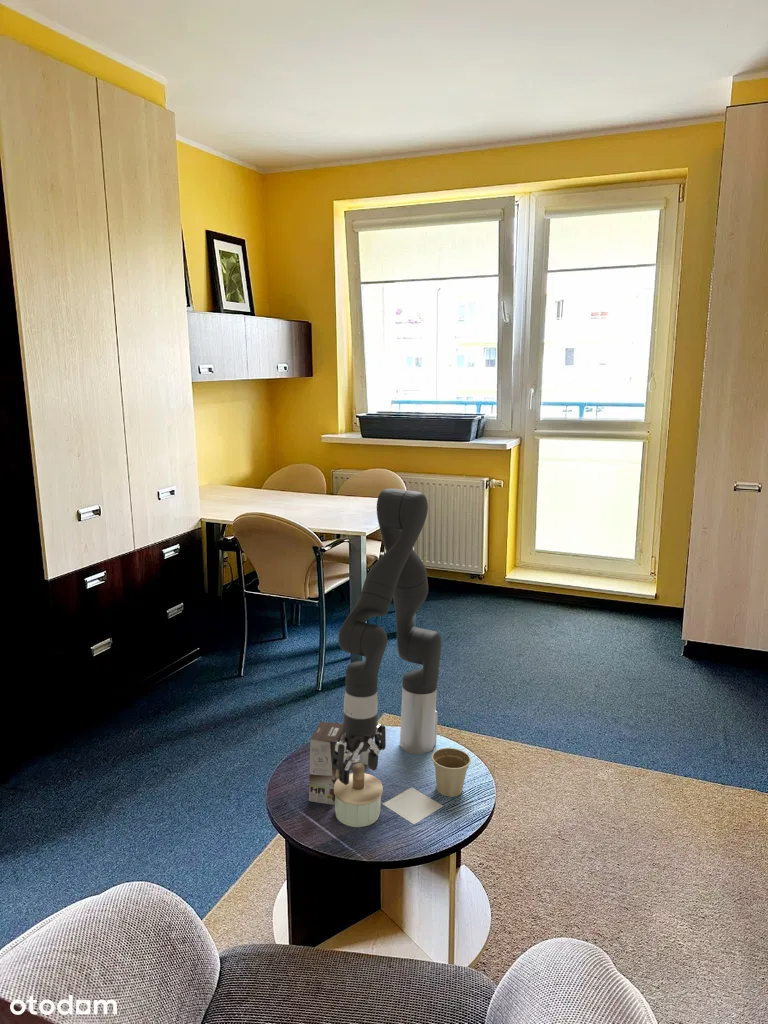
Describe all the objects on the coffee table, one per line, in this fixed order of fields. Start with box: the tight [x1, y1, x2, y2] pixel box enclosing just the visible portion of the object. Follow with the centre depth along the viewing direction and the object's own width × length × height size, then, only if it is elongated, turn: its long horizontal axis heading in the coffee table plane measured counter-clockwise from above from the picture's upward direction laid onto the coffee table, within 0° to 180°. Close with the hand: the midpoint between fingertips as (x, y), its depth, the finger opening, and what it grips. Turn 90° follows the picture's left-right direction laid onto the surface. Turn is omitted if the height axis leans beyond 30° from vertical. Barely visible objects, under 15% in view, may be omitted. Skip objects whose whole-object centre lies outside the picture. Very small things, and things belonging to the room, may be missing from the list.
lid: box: [334, 763, 384, 805], centre depth 157 cm, size 11×11×6 cm
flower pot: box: [431, 747, 472, 798], centre depth 168 cm, size 9×9×9 cm
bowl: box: [334, 796, 382, 828], centre depth 158 cm, size 10×10×6 cm
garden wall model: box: [345, 750, 370, 766], centre depth 180 cm, size 12×2×6 cm, turn 63°
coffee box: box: [308, 721, 345, 806], centre depth 164 cm, size 9×6×16 cm
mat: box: [382, 787, 444, 825], centre depth 162 cm, size 10×10×1 cm
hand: (358, 775), depth 157 cm, fingers open, 8 cm apart
